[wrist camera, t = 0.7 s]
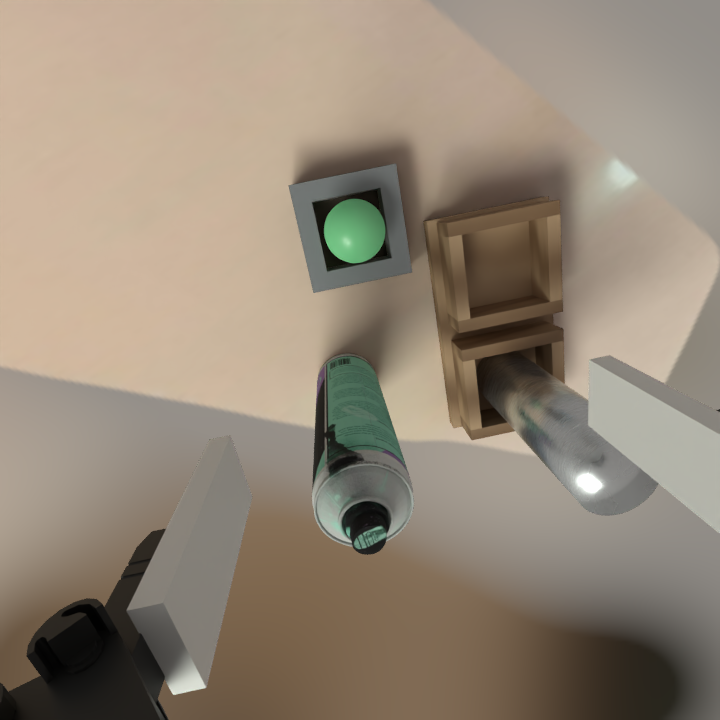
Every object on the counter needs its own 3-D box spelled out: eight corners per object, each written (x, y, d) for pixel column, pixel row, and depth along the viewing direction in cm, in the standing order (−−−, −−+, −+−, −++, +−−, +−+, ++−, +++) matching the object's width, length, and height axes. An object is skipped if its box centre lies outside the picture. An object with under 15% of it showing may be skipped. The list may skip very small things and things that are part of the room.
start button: (318, 206, 32) (317, 205, 29) (374, 195, 32) (379, 193, 29) (330, 264, 33) (331, 268, 30) (384, 253, 33) (390, 256, 30)
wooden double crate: (423, 221, 34) (436, 222, 30) (541, 196, 34) (569, 194, 30) (450, 422, 40) (463, 444, 36) (549, 401, 40) (573, 420, 37)
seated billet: (472, 354, 37) (574, 449, 22) (526, 343, 37) (665, 429, 22) (477, 403, 39) (575, 523, 24) (529, 392, 39) (660, 505, 24)
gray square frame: (291, 187, 32) (288, 185, 30) (390, 167, 32) (395, 163, 30) (314, 287, 35) (313, 292, 33) (406, 268, 35) (412, 272, 33)
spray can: (305, 385, 38) (286, 551, 19) (343, 341, 37) (362, 471, 18) (350, 418, 39) (374, 603, 20) (388, 376, 38) (450, 531, 19)
